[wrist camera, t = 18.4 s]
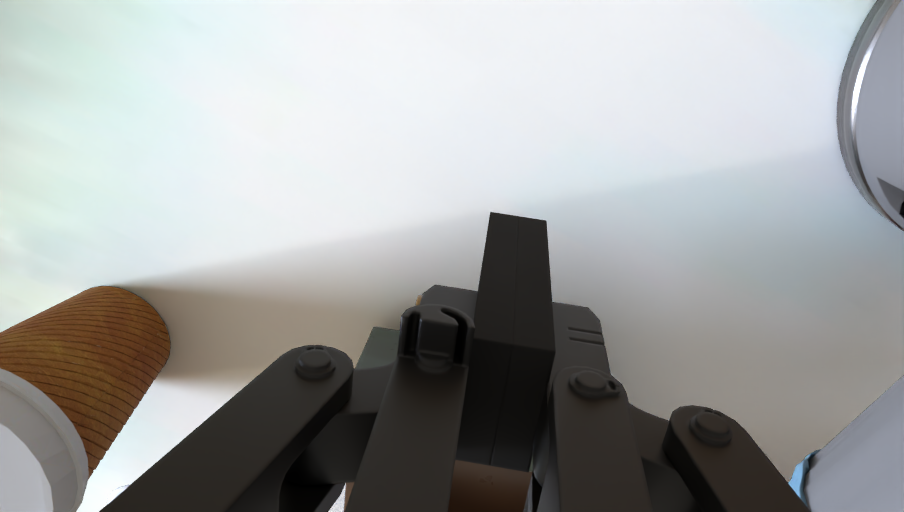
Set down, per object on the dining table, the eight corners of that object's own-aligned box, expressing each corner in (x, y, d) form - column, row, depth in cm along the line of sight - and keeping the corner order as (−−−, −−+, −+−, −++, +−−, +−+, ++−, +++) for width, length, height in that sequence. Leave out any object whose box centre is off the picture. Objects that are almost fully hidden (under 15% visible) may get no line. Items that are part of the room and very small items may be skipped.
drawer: (380, 242, 33) (340, 316, 26) (624, 281, 33) (650, 367, 26) (353, 559, 42) (317, 677, 35) (543, 594, 42) (545, 722, 35)
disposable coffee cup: (229, 344, 38) (107, 495, 27) (136, 426, 41) (-7, 591, 30) (99, 226, 36) (-92, 338, 25) (11, 322, 39) (-192, 459, 28)
